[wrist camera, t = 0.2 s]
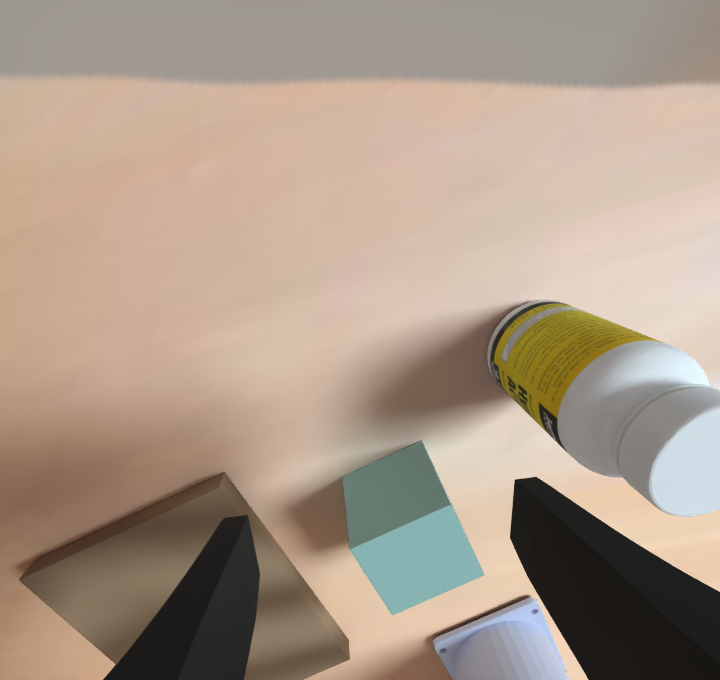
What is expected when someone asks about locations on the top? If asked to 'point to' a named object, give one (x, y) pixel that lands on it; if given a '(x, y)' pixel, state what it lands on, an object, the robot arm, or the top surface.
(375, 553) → the teal cube
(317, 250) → the top surface
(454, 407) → the top surface
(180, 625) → the robot arm
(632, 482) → the supplement bottle
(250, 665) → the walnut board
